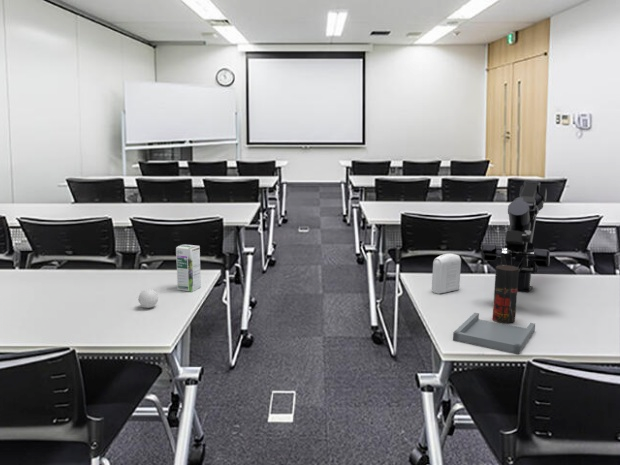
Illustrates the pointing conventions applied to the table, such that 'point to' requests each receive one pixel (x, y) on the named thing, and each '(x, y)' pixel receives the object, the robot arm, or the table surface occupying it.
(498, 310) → the deodorant
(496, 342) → the tray
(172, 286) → the table surface
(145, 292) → the white bumpy ovoid
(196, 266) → the syrup box
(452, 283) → the photo printer
